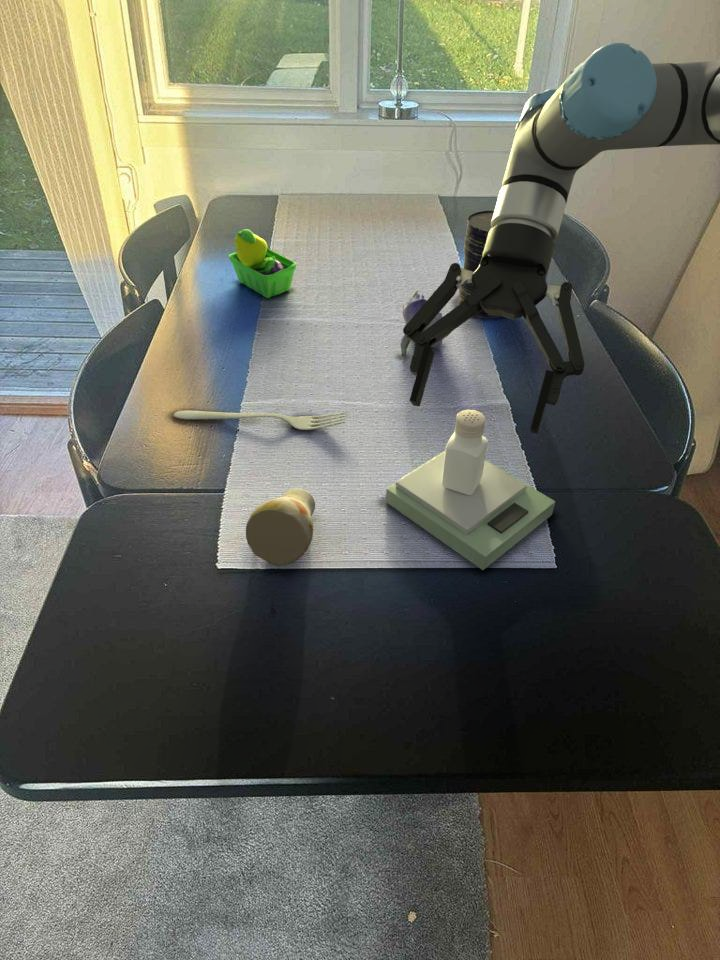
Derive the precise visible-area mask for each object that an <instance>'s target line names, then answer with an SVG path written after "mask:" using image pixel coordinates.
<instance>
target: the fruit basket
mask: <svg viewBox="0 0 720 960" xmlns="http://www.w3.org/2000/svg"><path fill="white" fill-rule="evenodd" d="M234 245H235V249H236V252H233V253H230V254H228V258H229V260H230V262H231V263H232V266H233V269H234V271H235V273H236V276H237V279H238V281H239V283H241V284H243V285H245V286H246V287H248V288H249V289H251V290H253V291H254V292H256V293H257V294H260V295H262V296H263V297H265V298H266V299H270V298H271V297H275V296H278V295H281V294H283V293H285V292H288V291H291V286H292V282H293V278H294V274H295V270H296V268H297V265H298V263H296V262H295V261H293V260H291V259H289V258H287V257H286V256H283V255H281V254H280V253H278V252H275V251H273V250H272V249H270V248H268V243H267V242H266V240H265V239H263V238H262V237H260V236H259V235H257V234H254V233H253V231H251V230H250V229H247V228H245V229H242V230H241V231H237V232H236V236H235V238H234Z"/></svg>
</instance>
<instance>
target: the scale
mask: <svg viewBox="0 0 720 960" xmlns="http://www.w3.org/2000/svg"><path fill="white" fill-rule="evenodd" d="M445 451H446V450H444V451H442V452H440V453H439V454H438V455H436V456H434V457H433V458H431V459H429V460H428V461H426V462H425V463H423V464H422V465H420V466H419V467H416V469H414V470H412V471H411V472H409V473H407V474H406V475H404V476H403V477H401V478H399V479H398V480H396V482H395V483H393V484H391V485H390V486H388V487H387V488H386V491H385V492H386V493H385V503H386V504H388V505H389V506H391V507H392V508H394V509H395V510H396V511H397V512H399V513H401V514H402V515H404V516H405V517H406V518H408V519H409V520H411V521H412V522H414V523H415V524H416V525H418V526H419V527H420V528H422V529H423V530H425V531H426V532H428V533H429V534H430V535H432V536H433V537H435V539H437V540H439V541H440V542H441V543H443V544H445V545H446V546H447V547H449V548H450V549H451V550H453V551H454V552H456V553H457V554H458V555H460V556H462V557H463V558H464V559H466V560H468V561H469V562H470V563H472V564H473V566H476V567H477V568H479V569H480V570H482V571H484V570H485V569H487V568H488V567H489V566H490V565H491V564H493V563H494V562H496V560H497V559H499V558H501V557H502V556H503V555H504V554H505V553H507V552H508V551H509V550H510V549H512V548H513V547H514V546H515V545H517V544H518V543H519V542H521V540H523V539H524V538H525V537H526V536H528V535H530V533H531V532H533V531H534V530H535V529H537V528H538V527H539V526H540V525H542V524H543V523H544V522H545V521H546V520H548V519H549V518H550V517H551V516H552V515H553V514H554V508H555V505H556V501H555V500H554V499H552V498H550V497H549V496H547V495H545V494H544V493H542V492H540V491H539V490H537V489H535V488H534V487H532V486H530V485H528V484H527V483H525V482H523V481H522V480H520V479H518V478H517V477H515V476H513V475H512V474H510V473H508V472H507V471H505V470H503V469H502V468H500V467H498V466H496V465H495V464H494V463H491V462H490V461H488V460H486V459H485V463H484V469H483V475H482V479H481V480H480V482H479V484H478V486H477V488H476V489H475V491H474V493H473V494H471V495H467V494H463V493H460V492H457V491H454V490H451V489H448V488H445V487H444V486H442V476H443V468H444V459H445Z"/></svg>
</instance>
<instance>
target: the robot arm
mask: <svg viewBox="0 0 720 960" xmlns="http://www.w3.org/2000/svg"><path fill="white" fill-rule="evenodd" d="M513 137H514V138H513V142H512V145H511V150H510V152H509V153H510V154H509V157H508V161H507V165H506V169H505V172H504V175H503V179H502V183H501V188H500V190H499V193H498V196H497V201H496V204H495V207H494V210H493V211H494V214H493V218H492V222H491V226H492V229H491V230H490V231H489V233H488V237H487V240H486V244H485V248H484V251H483V255H482V258H481V262H480V265H479V267H478V268H477V269H476V271H475V272H473V271H469V270H466V269H463V267H461V265H460V264H459V263H458V262H452V263H451V264H450V266H449V267H448V270H447V272H446V275H445V278H444V280H443V281H442V282H441V283H440V285H439V286H438V287H437V288H436V289H435V290H434V291H433V293H432V294H431V295H430V296H429V297H428V299H426V300H427V301H426V302H425V303H424V305H423V306H422V307H421V308H420V309H419V310H418V312H417V313H416V314H415V315H414V316H413V317H412V319H411V320H410V321H409V322H408V323H407V324H406V326H405V325H404V327H403V328H402V332H403V334H404V335H405V336H406V337H407V339H408V340H409V341H410V343H413V344H414V345H415V346H414V350H413V353H412V357H411V361H410V365H409V371H410V373H411V374H412V375H413V376H415V378H414V382H413V386H412V388H411V389H412V390H411V393H410V397H409V402H410V403H411V404H412V405H413V406H414V407H418V408H420V407H421V404H422V400H423V398H424V393H425V390H426V385H427V383H428V379H429V375H430V371H431V368H432V365H433V361H434V357H435V354H436V353H435V351H434V349H433V347H431V346H433V345H434V344H435V343H437V342H438V341H440V340H441V339H442V338H444V337H445V336H446V335H448V334H449V333H450V332H451V333H452V332H454V330H457V328H459V327H460V326H461V325H463V324H464V323H465V322H467V321H468V320H470V319H471V318H472V317H475V316H476V315H477V314H479V313H480V312H482V311H483V310H484V311H485V312H486V313H488V315H491V316H503V318H505V319H508V320H511V321H516V319H521V318H523V320H524V321H525V323H526V325H527V327H528V328H529V330H530V331H531V334H532V336H533V337H534V339H535V341H536V343H537V346H538V347H539V349H540V351H541V352H542V354H543V356H544V358H545V361H546V362H547V365H548V366H549V368H550V369H551V370H549V369H545V373H544V377H543V380H542V384H541V387H540V392H539V396H538V399H537V402H536V406H535V411H534V414H533V418H532V421H531V425H530V433H532V434H536V435H538V434H539V430H540V427H541V423H542V419H543V416H544V412H545V409H546V406H547V405H550V406H556V404H557V403H558V400H559V397H560V393H561V391H562V390H561V389H562V386H563V382H564V380H565V378H567V377H569V376H575V377H576V376H581V375H582V374H583V372H584V369H585V359H584V355H583V351H582V347H581V343H580V342H581V341H580V337H579V334H578V330H577V325H576V321H575V317H574V312H573V310H572V309H573V308H572V305H571V301H572V294H573V284H572V283H571V282H569V281H564V282H563V283H562V284H561V285H559V284H548V282H547V277H548V273H549V269H550V267H551V266H550V265H551V262H552V258H553V254H554V251H555V247H556V246H555V245H556V244H555V241H556V240H557V239H558V236H559V234H560V233H559V232H560V229H561V225H562V221H563V218H564V214H565V210H566V207H567V204H568V203H567V202H568V199H569V195H570V191H571V188H572V185H573V181H574V178H575V175H576V173H577V171H579V169H581V168H583V166H585V165H587V164H588V163H589V162H590V161H592V160H594V158H596V156H598V155H599V154H600V153H602V152H606V151H615V150H631V149H633V150H635V149H648V148H650V149H651V148H659V147H660V148H661V147H677V146H700V145H701V146H703V145H705V146H706V145H707V146H709V145H710V146H711V145H712V146H713V145H714V146H715V145H716V146H717V145H720V59H715V60H706V61H689V62H675V63H674V62H673V63H672V62H657V63H655V62H654V63H652V62H651V60H650V59H649V57H648V56H647V55H646V54H645V52H643V51H642V50H640V49H636V48H633V46H630V44H628V43H625V42H611V43H608V44H605V45H603V46H601V47H599V48H597V49H596V50H594V51H593V52H592V53H591V54H590V55H589V56H588V57H587V58H586V59H585V60H584V61H583V62H580V63H579V65H578V66H576V67H575V68H574V69H573V70H572V71H570V74H569V75H568V76H567V77H566V79H565V80H564V82H563V83H562V84H561V85H560V87H558V88H549V89H545V90H544V91H542V92H538V93H534V94H533V95H532V96H530V97H529V98H528V100H527V101H526V102H525V104H524V106H523V109H522V113H521V115H520V118H519V120H518V122H517V123H516V126H515V129H514V136H513ZM467 283H472V285H473V288H474V290H475V292H473V293H472V294H471V295H469V296H468V297H467V298H466V299H465V300H464V302H462V303H461V304H460V305H458V304H457V306H455V307H454V308H453V309H452V310H450V311H449V312H447V313H446V314H445V315H442V316H443V317H442V318H441V319H439V320H438V321H437V322H435V323H434V324H432V325H431V326H430V327H428V328H427V329H426V330H424V329H425V328H426V327H427V326H428V325H429V324H430V323H431V321H432V320H433V319H434V318H435V317H436V316H437V314H438V313H441V311H442V310H443V309H444V308H445V307H446V305H447V304H449V302H450V301H451V300H452V298H453V297H454V296H455V295H456V293H457V291H458V290H459V289H461V288H463V287H464V286H465V285H466V284H467ZM545 298H549V299H550V300H551V305H552V306H553V307H558V308H557V311H558V318H559V322H560V326H561V331H562V335H563V339H564V344H565V348H566V352H567V356H568V357H567V358H568V361H565V360H564V359H563V356H562V355H561V353H560V351H559V349H558V347H557V346H556V344H555V342H554V340H553V338H552V336H551V334H550V333H549V331H548V329H547V327H546V325H545V323H544V321H543V319H542V317H541V315H540V312H539V310H538V308H537V305H538V304H539V303H541V302H542V301H543V300H544V299H545ZM451 333H450V334H451ZM450 334H449V335H450ZM449 335H448V336H449ZM444 339H445V338H444ZM546 404H547V405H546Z"/></svg>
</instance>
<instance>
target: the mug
mask: <svg viewBox="0 0 720 960" xmlns="http://www.w3.org/2000/svg"><path fill="white" fill-rule="evenodd" d="M315 509H316V501H315V499H314V497H313V495H312V494H311V493H310V492H309V491H307V490H305V489H303V488H296V487H295V488H294V487H293V488H291V489H288V490H287V491H285V493H283V495H282V496H281V497H276V498H272V499H268V500H266V501H265V502H262V503H261V504H259V505H258V506H257V507H256V508H255V509H254V510H253V511H252V513H251V514H250V515H249V518H248V520H247V523H246V526H245V538H246V542H247V544H248V546H249V548H250V549H251V551H252V553H253V554H254V555H255V556H257V557H258V558H260V559H261V560H264V561H265V562H267V563H268V564H271V565H275V566H283V565H290V564H292V563H294V562H295V561H297V560H299V559H300V558H301V557H302V556H303V555H304V554H306V552H307V551H308V550H309V548H310V545H311V543H312V541H313V535H314V523H313V519H312V516H313V514H314V512H315Z"/></svg>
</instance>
